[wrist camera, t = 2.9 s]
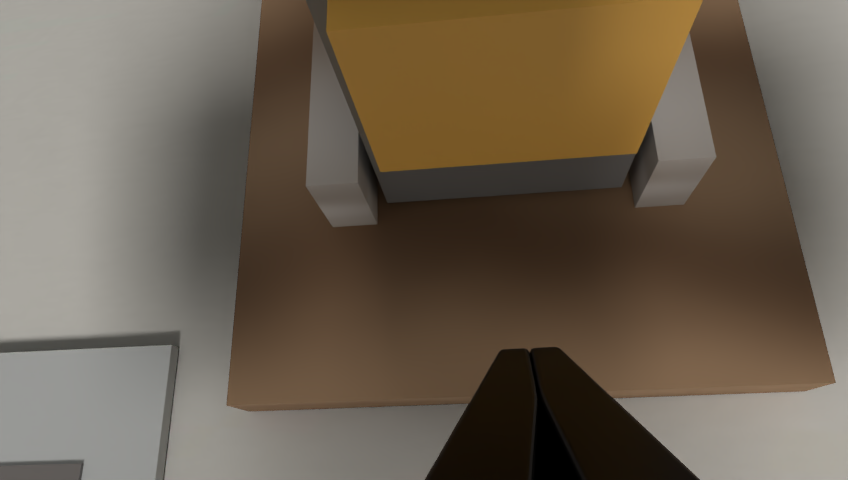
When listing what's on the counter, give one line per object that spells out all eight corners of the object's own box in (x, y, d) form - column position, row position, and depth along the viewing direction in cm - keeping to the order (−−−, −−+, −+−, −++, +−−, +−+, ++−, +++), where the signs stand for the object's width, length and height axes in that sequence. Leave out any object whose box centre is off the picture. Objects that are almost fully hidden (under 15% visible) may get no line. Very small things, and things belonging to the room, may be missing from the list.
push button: (625, 216, 15) (818, -175, 6) (387, 231, 16) (236, -106, 7) (601, 56, 17) (724, -438, 8) (386, 75, 18) (265, -366, 8)
